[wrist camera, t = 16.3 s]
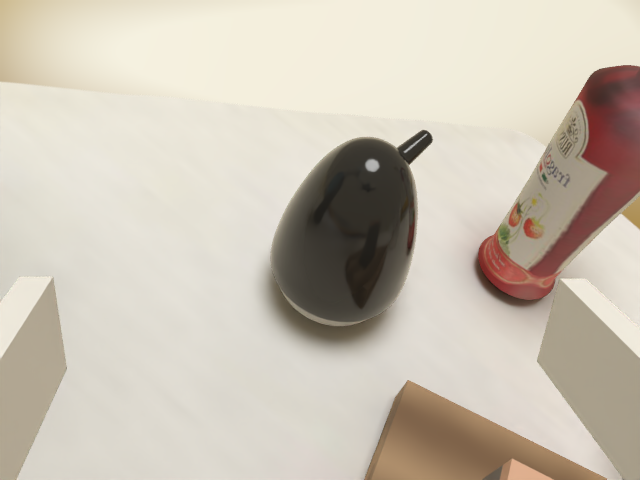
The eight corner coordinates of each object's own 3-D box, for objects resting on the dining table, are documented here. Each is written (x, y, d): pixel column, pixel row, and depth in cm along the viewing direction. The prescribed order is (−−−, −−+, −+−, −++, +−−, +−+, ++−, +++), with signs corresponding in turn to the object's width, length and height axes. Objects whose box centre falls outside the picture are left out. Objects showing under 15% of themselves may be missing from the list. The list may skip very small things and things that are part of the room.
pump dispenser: (417, 301, 46) (496, 170, 34) (322, 372, 41) (378, 245, 29) (335, 219, 50) (381, 75, 38) (238, 274, 45) (257, 127, 33)
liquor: (558, 314, 48) (865, 11, 26) (476, 304, 47) (725, -20, 25) (539, 246, 53) (789, -62, 31) (464, 235, 52) (666, -90, 30)
